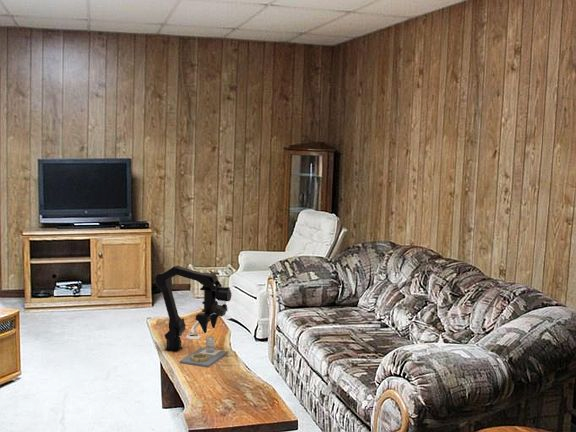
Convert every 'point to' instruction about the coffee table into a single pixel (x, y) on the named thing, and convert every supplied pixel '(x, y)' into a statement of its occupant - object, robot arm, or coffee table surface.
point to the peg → (210, 344)
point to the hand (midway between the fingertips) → (209, 330)
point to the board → (204, 364)
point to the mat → (210, 353)
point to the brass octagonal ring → (195, 359)
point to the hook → (194, 332)
